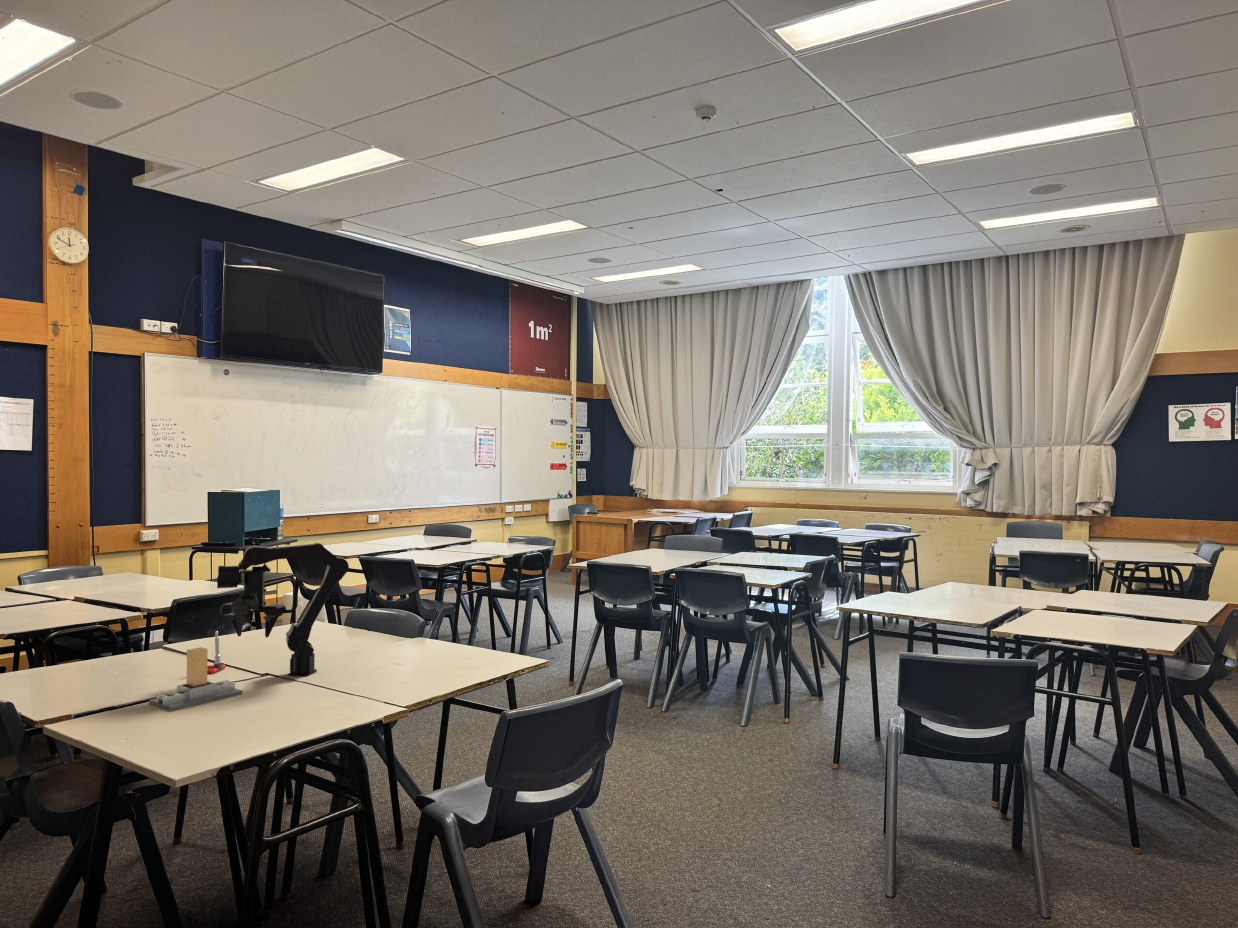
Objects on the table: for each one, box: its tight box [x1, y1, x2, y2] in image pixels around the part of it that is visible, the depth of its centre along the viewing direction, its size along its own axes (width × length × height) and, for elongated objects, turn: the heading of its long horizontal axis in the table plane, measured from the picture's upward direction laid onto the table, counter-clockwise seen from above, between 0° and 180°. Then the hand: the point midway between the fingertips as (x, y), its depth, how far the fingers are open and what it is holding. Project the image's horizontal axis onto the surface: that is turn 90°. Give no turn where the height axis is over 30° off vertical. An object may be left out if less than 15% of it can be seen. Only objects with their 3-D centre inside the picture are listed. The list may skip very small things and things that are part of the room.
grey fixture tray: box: [148, 679, 244, 712], centre depth 223 cm, size 20×12×4 cm, turn 146°
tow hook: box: [207, 630, 227, 675], centre depth 254 cm, size 8×13×9 cm
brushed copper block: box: [186, 646, 209, 689], centre depth 223 cm, size 4×4×13 cm
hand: (253, 636), depth 245 cm, fingers open, 9 cm apart
